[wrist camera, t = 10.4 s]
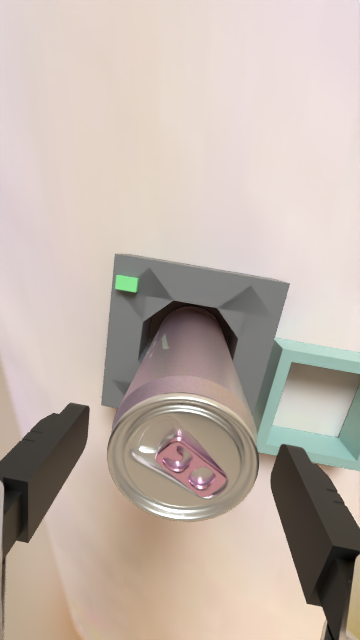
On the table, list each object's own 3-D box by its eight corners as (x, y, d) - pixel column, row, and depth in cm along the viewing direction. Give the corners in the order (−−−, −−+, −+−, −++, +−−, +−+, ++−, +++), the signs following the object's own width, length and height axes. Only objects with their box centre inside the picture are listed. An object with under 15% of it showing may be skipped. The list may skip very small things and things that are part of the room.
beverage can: (192, 375, 24) (186, 549, 10) (147, 336, 24) (69, 464, 9) (234, 333, 23) (301, 466, 8) (188, 291, 22) (174, 357, 8)
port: (273, 278, 21) (292, 284, 17) (239, 404, 25) (249, 436, 20) (129, 254, 22) (112, 253, 17) (115, 382, 25) (99, 408, 21)
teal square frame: (382, 356, 23) (409, 371, 20) (344, 447, 25) (363, 471, 22) (271, 337, 23) (283, 348, 20) (246, 429, 25) (252, 451, 23)
